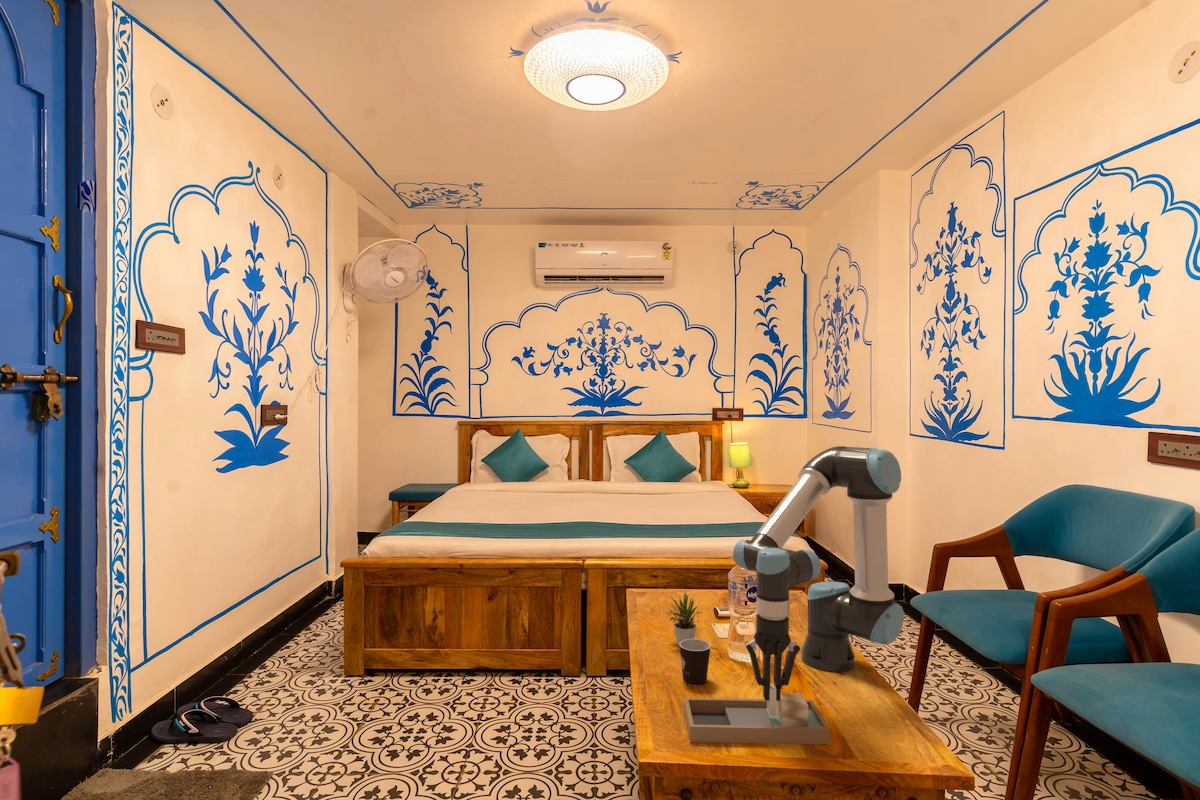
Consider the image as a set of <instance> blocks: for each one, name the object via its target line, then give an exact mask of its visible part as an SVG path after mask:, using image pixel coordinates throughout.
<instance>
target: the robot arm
mask: <svg viewBox="0 0 1200 800" xmlns="http://www.w3.org/2000/svg"><path fill="white" fill-rule="evenodd" d="M901 482H902V471H901V466H900V462H899V460H898V458H897V457H896V456H895V455H894V454H893V452H890V451H888V450H887V449H886V450H885V449H879V448H874V447H873V448H872V447H857V446H842V445H838V446H837V445H836V446H832V447H829V448H827V449H825V450H823V451H821V452H819V453H818V454H817V455H815V456H814V457H812V458H811V459H809V461H807V463H806V464H805V465H804V466H803V467H802V468H801V469H800V471H799V472H798V479H797V481H795V483H794V484H793V486H791V488H790V489H789V491H788V492H787V494H786V495H784V496H783V498H782V499H781V501H780V502H779V503H778V505H777V506H776V508H775V509H773V511H772V512H771V514H770V515H769V516H768V518H767V519H766V520H765V521H764V522H763V524H762V525H761V526H760V528H759V529H758V530H757V531H756V533H755V534H754V535H753V536H752V538H751V539H750V540H749V539H742V540H739V541H737V542H736V544H735V545H734V547H733V551H732V558H733V561H734V563H735V565H736V566H738V567H739V568H742V569H744V570H747V571H749V572H755V573H756V607H755V608H756V613H757V614H756V616H755V617H756V618H755V621H756V623H755V633H754V635H753V639H752V640H749V641H745V642H744V646H745V648H746V650H747V651H748V654H749V657H750V661H751V667H752V670H753V674H754V678H755V681H756V683H757V685H758V686H762V690H763V691H762V696H763V699H765V700H766V701H767V711H768V713H769V715H770V716H776V701H780V693H782V692H781V690H782V688H783V687H784V686H789V684H790V680H791V676H792V673H793V668H794V665H795V661H796V658H797V657H796V656H798V654H799V652H800V651H801V655H800V656H801V660H802V661H803V662H804V664H806V665H808V666H809V667H812V668H815V669H818V670H821V671H826V672H827V671H829V672H845V671H846V672H847V671H850V670H852V669H854V668H855V666H856V656H855V652H854V648H853V646H852V643H851V639H850V635H851V636H855V637H857V638H859V639H864V640H866V641H870V642H871V643H874V644H875V643H876V644H880V645H884V646H888V645H890V644H892V643H894V642H895V640H896V639H897V638H898V637H899V635H900V632H901V631H902V628H903V625H904V621H905V620H904V618H905V613H904V611H905V610H904V609H903V607H902V605H900V604H899V603H896V602H895V593H894V592H893V591H892V590H891V589H890V588H889V563H888V562H889V560H888V558H889V557H888V555H889V554H888V517H887V515H888V514H887V513H888V512H887V511H888V510H887V503H888V502H890V500H892V499H893V494H894V493H896V492H897V491H898V490H899V488H900V486H901ZM836 487H841V488H846V494H847V495H846V496H847V498H848V499H849V500H850V501H852V506H853V509H852V510H853V511H852V513H853V544H854V545H853V547H854V548H853V549H854V550H853V552H854V553H853V554H854V555H853V556H854V558H853V559H854V585H853V586H852V587H851V588H850V585H849V584H847V583H846V582H842V581H841V582H840V581H820V582H816V583H812V584H810V585H809V587H808V590H807V591H808V592H807V597H806V598H807V599H806V600H807V634H806V636H805V640H804V642H803V645H802V648H801V647H800V646H799V644H798V643H797V642H795V641H792V639H791V637H790V634H789V633H790V631H789V629H790V626H789V625H790V624H789V623H790V618H789V615H790V588H791V587H793V586H796V585H800V584H803V583H804V584H805V583H810V582H811V581H812V580H815V579H816V578H817V577H819V575H820V574H821V571H822V564H821V560H820V558H819V556H818V555H817V554H816V553H815V552H814V551H812V550H810V549H799V550H797V551H796V550H791V549H787V548H783V547H784V546H785V544H786V543H787V542H788V540H789V539H790V537H791V536H792V535H793V534H794V532H795V531H796V530H797V529H798V527H799V526H800V524H801V523H802V521H804V519H805V517H806V516H807V515H808V514H809V512H810V511H811V509H812V508H813V507H814V506H815V504H816V503H817V502H818V501H819V499H820V498H821V497H822V496H824V495H827V494H828V493H829V492H830V490H831V489H833V488H836ZM757 646H758V648H759V650H760V651H761V652H762V675H761V670H760V666H759V661H758V657H757V654H756V650H757ZM786 649H788V651H787V653H786V657H785V661H784V666H783V670H782V659H783V653H784V652H785V651H786ZM772 656H773V683H771V659H772Z"/></svg>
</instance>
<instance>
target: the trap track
mask: <svg viewBox="0 0 1200 800" xmlns="http://www.w3.org/2000/svg"><path fill="white" fill-rule="evenodd" d="M805 701H806V703H807V704H808V727H794V726H782V725H781V723H780V720H779V718H778V716H777V714H776V716H770V715H769V713H768V711H767V701H766V700H765V699H764V698H728V697H727V698H725V697H724V698H722V697H718V698H717V697H715V698H714V697H683V714H684V719H685V724H686V729H687V733H688V740H689V743H727V744H728V743H732V744H735V743H736V744H737V743H738V744H770V745H771V744H776V745H777V744H779V745H780V744H781V745H783V744H784V745H819V744H831V745H832V728H831V727H830V726H829V724H828V722H827V720H826V719H825V718H824V716H823V714H822V713H821V711H820V710H819V708H818V706H817V704H816V703H815V701H814V699H805Z"/></svg>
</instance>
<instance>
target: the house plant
mask: <svg viewBox="0 0 1200 800" xmlns="http://www.w3.org/2000/svg"><path fill="white" fill-rule="evenodd" d="M665 595H666V596H668V598H669V597H670V599H672V601H673V602H674V604H675V605H673V604H671V603H670V602H668V601H665V603H668V604H666V605H667V606H671V607H672V608H673V609H674V610H675V612H674V611H673V610H672V609H671V608H668V607H667V609H668V610H669V612H667V613H666V615H667V616H668V617H670V619H669V620H668V622H670V621H673V622H672V623H673V629H674V633H675V635H674V636H675V642H676V646H677V645H678V647H679V648H680V646H679V643H680V642H681V641H683V640H686V639H696V638H695V637H696V630H697V624H696V623H695V622H696V620H694V619H695V616H696V615H698V614H701V613H702V614H703V613H704V612H703V611H699V612H696V613H695V611H696V610H697V608H698V607H699V606H701V604H702V602H700V603H698V604H697V606H695V607H694V604H695V597H693V596H692V595H690V593H687V591H684V593H683V601H682V599H681V598H679V599H678V600H679V605H678V602H677V600H675V599H674V597H673V596H670V595H668V594H664V596H665ZM689 596H690V599H689ZM688 600H689V602H688ZM694 613H695V614H694ZM669 614H670V615H669ZM671 615H673V617H671ZM697 622H698V623H700V622H699V620H697Z"/></svg>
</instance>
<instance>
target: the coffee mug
mask: <svg viewBox="0 0 1200 800" xmlns="http://www.w3.org/2000/svg"><path fill="white" fill-rule="evenodd" d="M679 646H680V647H679ZM679 646H678V647H679V653H680V662H681V663H680V665H681V673H682V681H683V680H684V681H683V683H685V682H686V683H687V684H686V683H685V684H686V685H688V684H690V685H689V686H693V685H700V686H704V685H705V684H706V683H707V679H708V670H709V664H710V663H709V662H710V655H711V643H710V642H708V641H706V640H703V639H699V638H694V639H686V640H683V641H681V642H680V643H679ZM703 684H704V685H703Z"/></svg>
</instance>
